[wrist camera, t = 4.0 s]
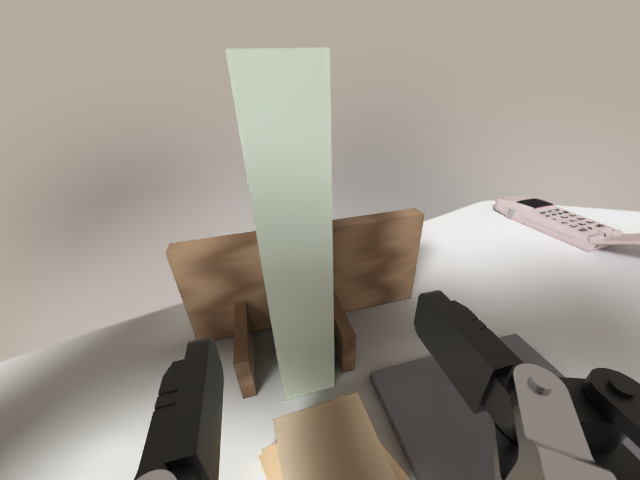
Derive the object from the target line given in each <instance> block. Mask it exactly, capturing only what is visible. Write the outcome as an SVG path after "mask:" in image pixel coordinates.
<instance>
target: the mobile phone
mask: <svg viewBox="0 0 640 480" xmlns="http://www.w3.org/2000/svg"><path fill="white" fill-rule="evenodd" d="M494 208H495V209H496V210H497V211H498V212H500V213H501V214H503V215H505V216H506V218H507V219H510V220H515V221H517V222H519V223H521V224H524V225H526V226H528V227H530V228H533V229H535V230H537V231H539V232H542V233H544V234H546V235H549V236H551V237H553V238H556V239H558V240H560V241H563V242H565V243H567V244H570V245H572V246H574V247H577V248H579V249H581V250H584V251H586V252H591V251H595V250H599V249H602V248H606V247H609V246H612V245H613V244H624V245H640V234H622V231H620V230H615V229H614V228H611V227H609V226H606V225H603V224H601V223H598V222H595V221H593V220H590V219H588V218H585V217H582V216H580V215H577V214H574V213H572V212H569V211H566V210H564V209H561V208H559V207H557V206H556V205H555V204H553V203H550V202H547V201H544V200H541V199H538V198H533V197H529V196H523V195H515V196H509V197H503V198H498V199H497V200H496V204H495V205H494Z"/></svg>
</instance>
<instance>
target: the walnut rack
mask: <svg viewBox="0 0 640 480" xmlns="http://www.w3.org/2000/svg"><path fill="white" fill-rule="evenodd" d="M423 220H424V214H423V213H422V212H420V211H419V210H417V209H416V208H413V209H406V210H399V211H392V212H385V213H378V214H372V215H364V216H358V217H351V218H344V219H337V220H332V231H333V298H334V350H335V352H336V355H337V358H338V361H339V363H340V366H341V369H342V372H347V371H351V370H354V365H355V340H356V335H355V333H354V331H353V329H352V327H351V325H350V323H349V321H348V318H347V316H346V314H345V312H348V311H353V310H357V309H362V308H367V307H371V306H376V305H381V304H385V303H390V302H395V301H399V300H404V299H408V298H411V294H412V287H413V281H414V275H415V269H416V263H417V257H418V250H419V244H420V238H421V232H422V226H423ZM166 256H167V259H168V261H169V264H170V267H171V270H172V272H173V275H174V278H175V281H176V283H177V286H178V289H179V292H180V294H181V297H182V300H183V303H184V305H185V308H186V311H187V314H188V316H189V319H190V322H191V325H192V328H193V330H194V333H195V336H196V339H197V340H200V339H205V338H210V337H212V338H213V339H214V340H218V339H223V338H228V337H232V336H234V368H235V371H236V375H237V378H238V382H239V385H240V389H241V392H242V396H243V399H244V398H247V397H251V396H255V395H257V393H256V377H255V360H254V343H253V332H256V331H260V330H265V329H269V328H272V325H271V319H270V313H269V307H268V301H267V295H266V289H265V283H264V277H263V271H262V265H261V259H260V253H259V247H258V241H257V235H256V231H253V232H246V233H240V234H232V235H226V236H219V237H212V238H205V239H198V240H191V241H184V242H177V243H170V244H169V246H168V248H167V251H166Z"/></svg>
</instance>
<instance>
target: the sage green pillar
mask: <svg viewBox="0 0 640 480" xmlns="http://www.w3.org/2000/svg"><path fill="white" fill-rule="evenodd" d="M225 50H226V56H227V62H228V68H229V74H230V80H231V86H232V92H233V98H234V104H235V110H236V116H237V122H238V128H239V134H240V140H241V146H242V152H243V158H244V164H245V170H246V176H247V181H248V188H249V194H250V200H251V205H252V211H253V218H254V224H255V229H256V235H257V241H258V247H259V253H260V259H261V265H262V271H263V277H264V283H265V289H266V295H267V301H268V307H269V313H270V319H271V325H272V331H273V337H274V343H275V349H276V355H277V361H278V367H279V373H280V379H281V385H282V391H283V397H284V401H285V400H289V399H292V398H296V397H300V396H303V395H307V394H311V393H314V392H318V391H322V390H325V389H329V388H333V387H335V365H334V298H333V231H332V167H331V166H332V165H331V97H330V48H267V49H266V48H263V49H225Z"/></svg>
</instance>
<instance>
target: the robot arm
mask: <svg viewBox="0 0 640 480" xmlns="http://www.w3.org/2000/svg"><path fill="white" fill-rule="evenodd" d="M414 326H415V330H416V333H417V335H418V336H419V338H420V339H421V341H422V342H423V343H424V345H425V346H426V348H427V349H428V350H429V352H430V353H431V355H432V356H433V357H434V359H435V360H436V361H437V363H438V364H439V366H440V367H441V368H442V370H443V371H444V373H445V374H446V375H447V377H448V378H449V380H450V381H451V382H452V384H453V385H454V387H455V388H456V389H457V391H458V392H459V394H460V395H461V396H462V398H463V399H464V401H465V402H466V403H467V405H468V406H469V407H470V409H471V410H472V412H473V413H474V414H477V413H480V412H484V411H487V412H488V414H489V415H490V416H491V418H490V432H491V442H492V452H493V462H494V472H495V480H640V460H639V459H638V458H637V457H636V456H635V455H634V454H633V453H632V452H631V451H630V450H629V449H628V448H627V447H626V446H625V445H624V444H623V443H622V442H623V441H624V440H625V439H626V438H627V437H628V438H629V439H630V440H631V441H632V442H633V443H634V444H635V445H637V446H638V447H639V448H640V384H639V383H637V382H636V381H635V380H633V379H631V378H630V377H628V376H626V375H624V374H622V373H620V372H617V371H614V370H611V369H606V368H596V369H593V370H592V371H591V372H590V374H589V375H588V376H587V378H586V379H580V378H564V377H557V376H556V375H554V374H553V373H552V372H550V371H548V370H547V369H545V368H543V367H540V366H537V365H534V364H527V363H524V362H523V361H522V360H521V359H520V358H519V357H518V356H517V355H516V354H515V353H514V352H513V351H511V350H510V349H509V348H508V347H507V346H506V345H505V344H504V343H503V342H502V341H501V340H500V339H499V338H498V337H497V336H496V335H495V334H494V333H493V332H492V331H491V330H490V329H487V326H486V325H485V324H484V323H483V322H482V321H481V320H478V318H477V317H476V316H475V315H474V314H473V313H472V312H471V311H470V310H469V309H468V308H467V307H465V306H463V305H461V304H460V303H458V302H456V301H450V300H449V299H448V298H447V296H446V295H445V294H444V293H442V292H441V291H439V290H437V291H432V292H427V293H423V294H420V295H419V297H418V303H417V308H416V314H415V319H414ZM223 384H224V379H223V369H222V364H221V361H220V358H219V355H218V352H217V348H216V345H215V342H214V339H213V338H212V337H210V338H205V339H200V340H196V341H191V342H189V343H188V345H187V350H186V355H185V359H183V360H179V361H174V362H173V363H172V364H171V366H170V367H169V369H168V370H167V372H166V373H165V375H164V376H163V378H162V382H161V385H160V389H159V393H158V395H159V396H158V397H157V401H156V404H155V411H154V412H153V416H152V420H151V423H150V427H149V431H148V435H147V438H146V442H145V446H144V450H143V454H142V457H141V461H140V465H139V468H138V471H137V474H136V476H135V478H134V480H218V477H219V458H220V440H221V421H222V403H223Z"/></svg>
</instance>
